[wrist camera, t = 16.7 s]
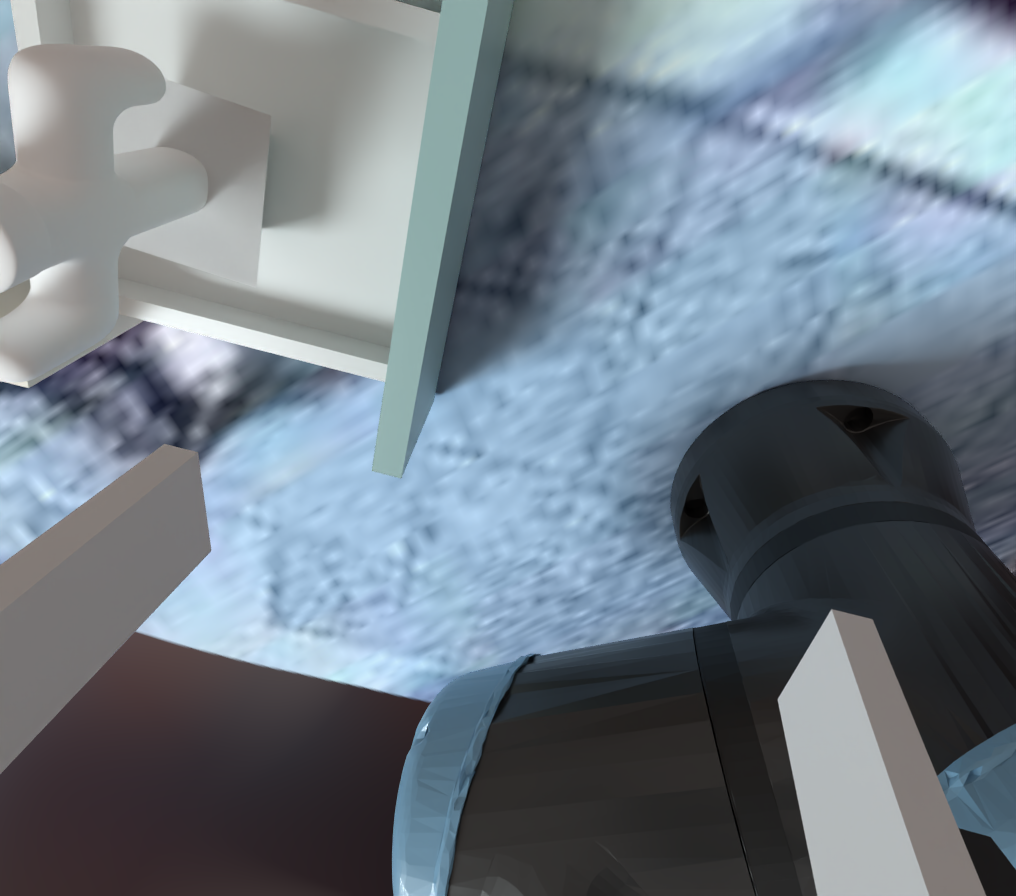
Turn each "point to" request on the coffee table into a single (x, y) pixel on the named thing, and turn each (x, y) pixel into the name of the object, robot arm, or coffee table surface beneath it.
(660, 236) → the coffee table surface
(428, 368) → the tray
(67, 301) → the figurine
